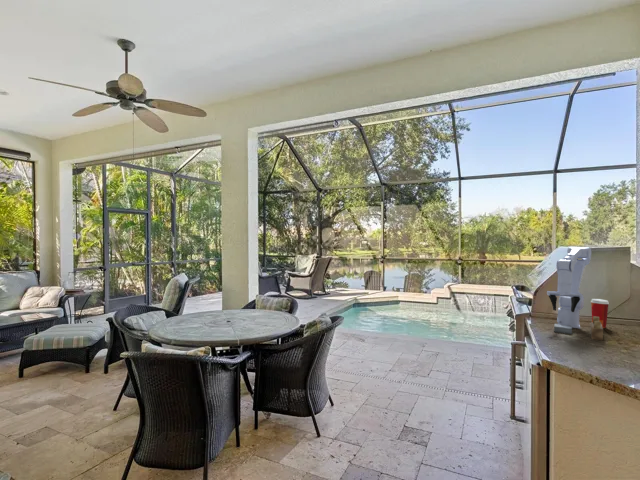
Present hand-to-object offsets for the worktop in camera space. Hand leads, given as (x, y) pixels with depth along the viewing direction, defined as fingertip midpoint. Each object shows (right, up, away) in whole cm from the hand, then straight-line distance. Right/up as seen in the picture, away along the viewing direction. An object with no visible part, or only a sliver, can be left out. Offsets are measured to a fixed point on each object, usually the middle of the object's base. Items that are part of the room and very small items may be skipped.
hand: (563, 310), depth 174 cm
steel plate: (-2, -10, -2) cm, 10 cm away
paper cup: (+24, -10, +8) cm, 27 cm away
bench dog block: (+9, -10, -10) cm, 16 cm away
